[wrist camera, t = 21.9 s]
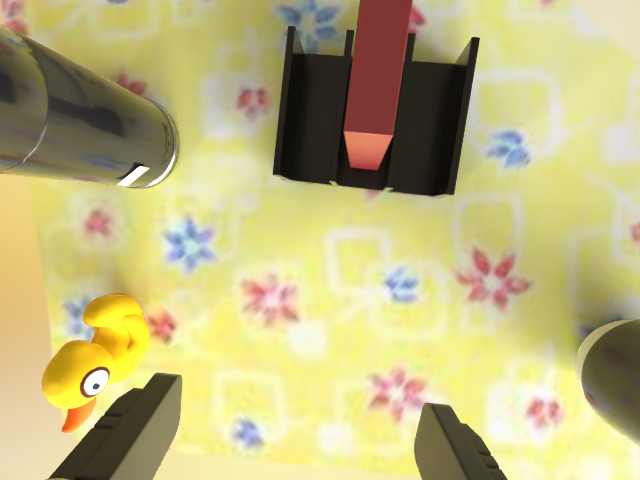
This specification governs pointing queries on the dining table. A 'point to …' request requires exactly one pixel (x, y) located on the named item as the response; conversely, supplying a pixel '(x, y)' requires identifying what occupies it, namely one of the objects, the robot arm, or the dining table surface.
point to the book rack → (409, 131)
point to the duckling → (97, 357)
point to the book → (375, 80)
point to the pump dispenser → (613, 375)
